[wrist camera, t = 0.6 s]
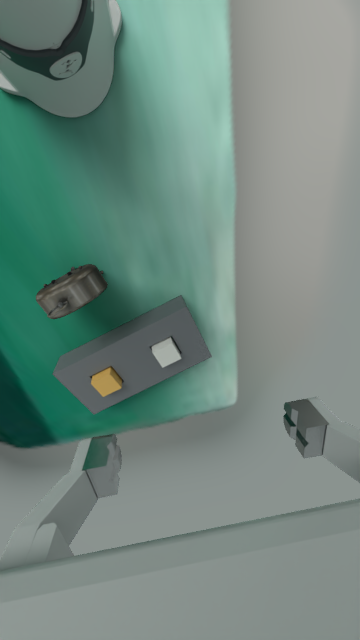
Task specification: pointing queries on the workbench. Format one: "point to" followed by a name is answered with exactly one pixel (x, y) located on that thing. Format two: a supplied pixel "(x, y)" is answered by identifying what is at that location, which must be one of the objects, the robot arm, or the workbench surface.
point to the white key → (166, 352)
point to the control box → (132, 355)
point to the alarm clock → (71, 291)
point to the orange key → (106, 381)
